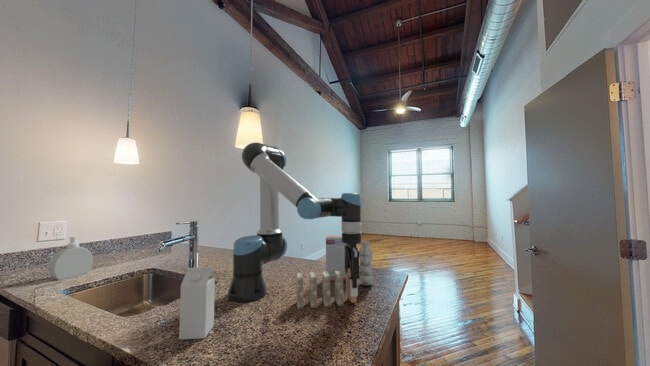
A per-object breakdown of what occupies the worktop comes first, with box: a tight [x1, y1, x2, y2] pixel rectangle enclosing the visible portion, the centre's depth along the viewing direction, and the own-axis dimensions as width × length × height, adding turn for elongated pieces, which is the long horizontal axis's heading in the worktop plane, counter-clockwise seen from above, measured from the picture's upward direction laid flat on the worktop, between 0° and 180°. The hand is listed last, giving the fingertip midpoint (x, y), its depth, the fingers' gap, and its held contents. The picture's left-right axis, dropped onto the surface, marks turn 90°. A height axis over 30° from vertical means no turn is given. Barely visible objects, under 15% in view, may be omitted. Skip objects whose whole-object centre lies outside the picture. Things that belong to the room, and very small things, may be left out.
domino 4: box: [334, 271, 344, 307], centre depth 96 cm, size 2×6×11 cm, turn 8°
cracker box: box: [325, 235, 347, 282], centre depth 123 cm, size 14×6×21 cm, turn 84°
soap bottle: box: [47, 236, 94, 281], centre depth 129 cm, size 16×5×20 cm, turn 161°
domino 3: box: [322, 271, 331, 308], centre depth 95 cm, size 2×6×11 cm, turn 8°
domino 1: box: [296, 272, 304, 310], centre depth 94 cm, size 2×6×11 cm, turn 8°
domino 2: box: [309, 271, 318, 309], centre depth 95 cm, size 2×6×11 cm, turn 8°
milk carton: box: [178, 267, 216, 340], centre depth 75 cm, size 7×7×19 cm
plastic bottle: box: [358, 239, 374, 287], centre depth 115 cm, size 6×7×20 cm
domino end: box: [347, 268, 357, 303], centre depth 97 cm, size 2×6×11 cm, turn 8°
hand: (351, 292), depth 97 cm, fingers closed on domino end, 6 cm apart
